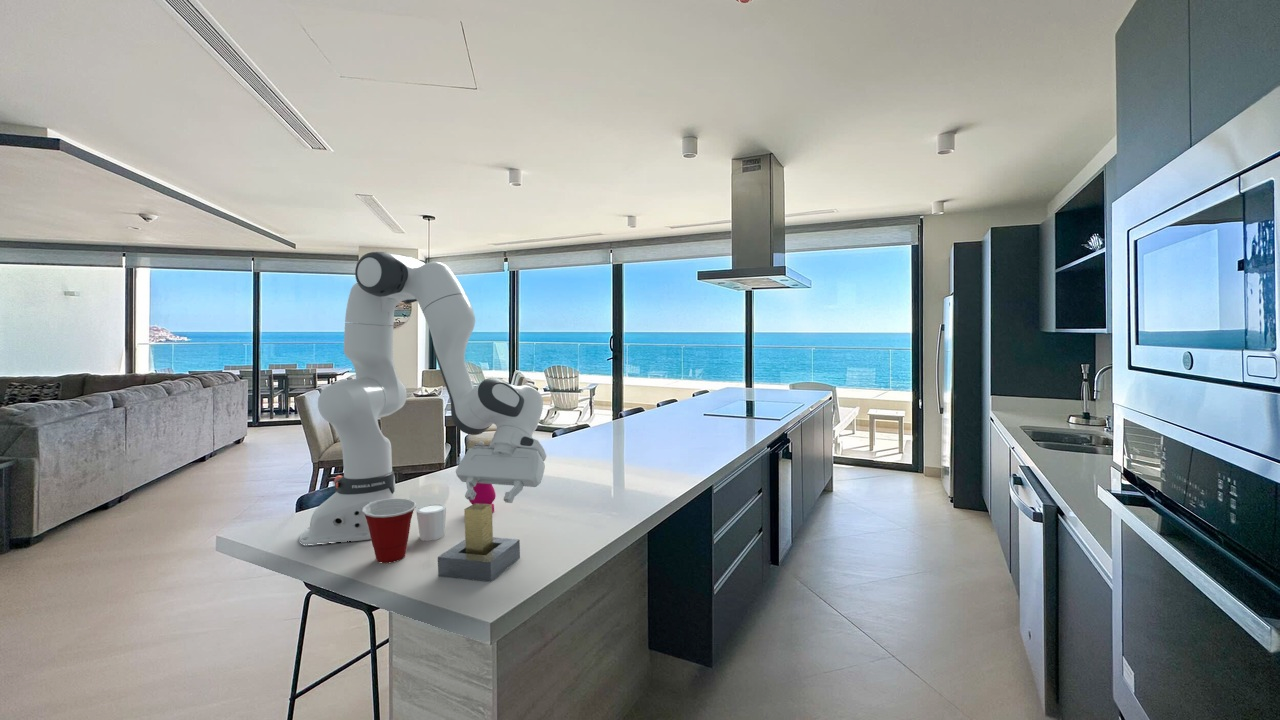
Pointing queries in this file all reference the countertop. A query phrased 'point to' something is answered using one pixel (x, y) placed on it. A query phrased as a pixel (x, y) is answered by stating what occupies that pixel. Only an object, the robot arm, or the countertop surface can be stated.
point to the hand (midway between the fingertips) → (488, 500)
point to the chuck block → (479, 561)
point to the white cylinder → (431, 521)
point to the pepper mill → (484, 492)
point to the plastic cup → (389, 527)
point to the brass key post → (478, 529)
